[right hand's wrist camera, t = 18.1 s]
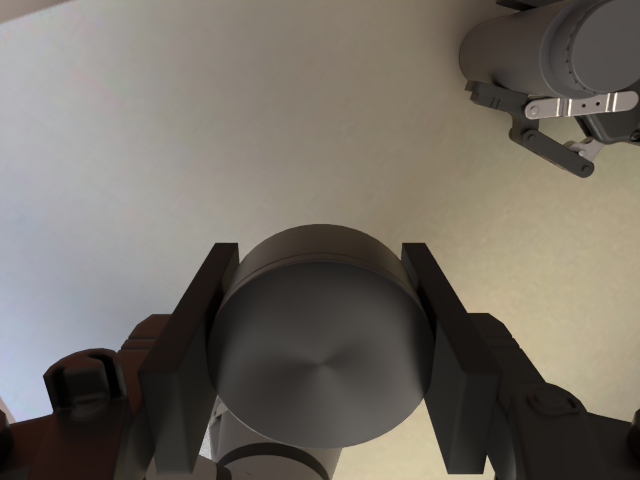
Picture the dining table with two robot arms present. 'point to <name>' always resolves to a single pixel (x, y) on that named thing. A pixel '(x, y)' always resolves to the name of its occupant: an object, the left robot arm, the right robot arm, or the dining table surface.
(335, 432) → the lid
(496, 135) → the dining table surface
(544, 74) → the jar
